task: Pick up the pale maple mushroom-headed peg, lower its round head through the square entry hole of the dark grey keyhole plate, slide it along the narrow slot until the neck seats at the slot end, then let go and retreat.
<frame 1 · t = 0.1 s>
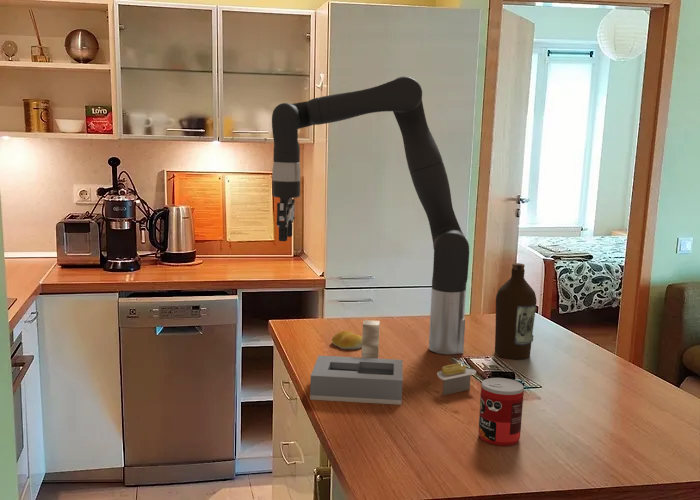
hand: (285, 238, 185), 29 cm above the table, fingers open, 8 cm apart
canned food: (498, 439, 132), on the table
maple peg: (369, 369, 169), on the table
keyhole plate: (357, 390, 155), on the table
bread roll: (347, 346, 189), on the table
olive oil: (512, 355, 184), on the table
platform: (453, 393, 156), on the table
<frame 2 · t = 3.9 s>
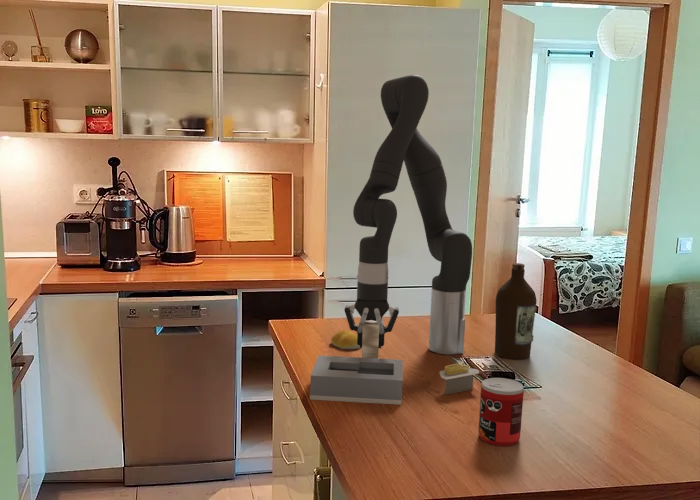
hand: (370, 346, 168), 6 cm above the table, fingers closed on maple peg, 4 cm apart
maple peg: (369, 369, 169), on the table, touching gripper
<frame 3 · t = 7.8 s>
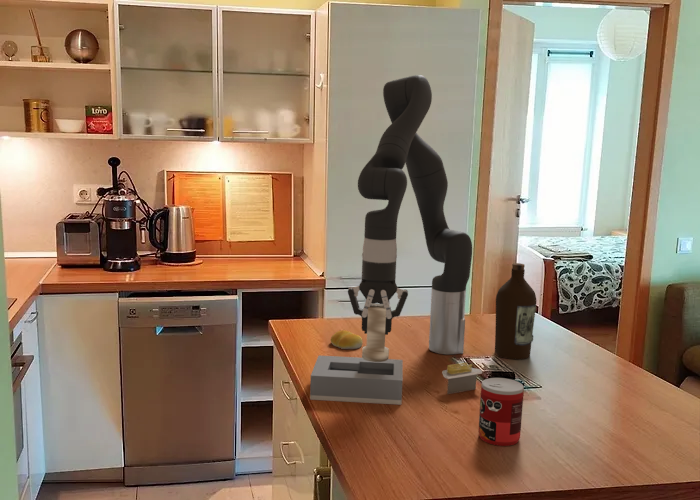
hand: (376, 332, 152), 14 cm above the table, fingers closed on maple peg, 4 cm apart
maple peg: (375, 357, 153), point 8 cm above the table, touching gripper
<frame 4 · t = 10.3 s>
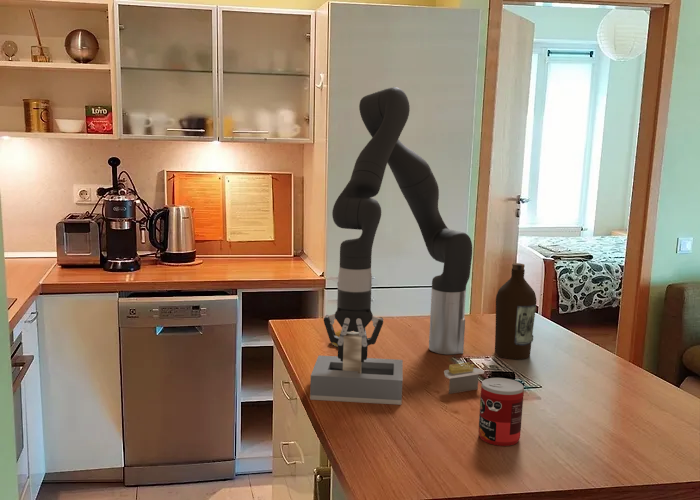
hand: (352, 360, 154), 7 cm above the table, fingers closed on maple peg, 4 cm apart
maple peg: (351, 384, 154), point 1 cm above the table, touching gripper
when the fingers open (7 cm above the table, at t = 12.0 s): maple peg stays where it is, resting on keyhole plate.
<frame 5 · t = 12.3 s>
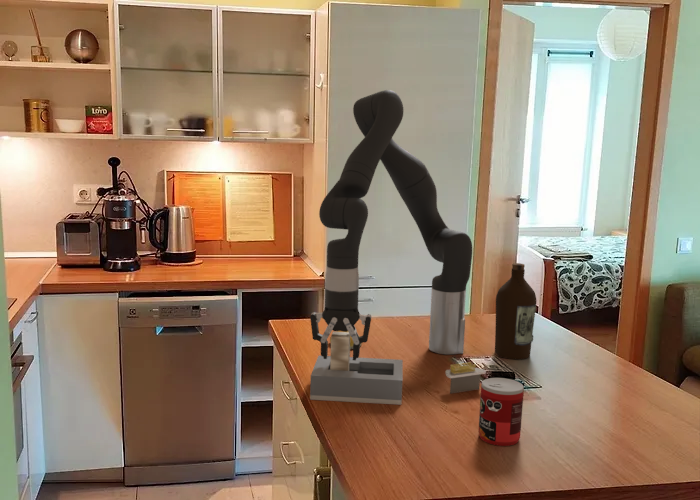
hand: (339, 358, 154), 7 cm above the table, fingers open, 6 cm apart
maple peg: (339, 385, 155), point 1 cm above the table, touching keyhole plate
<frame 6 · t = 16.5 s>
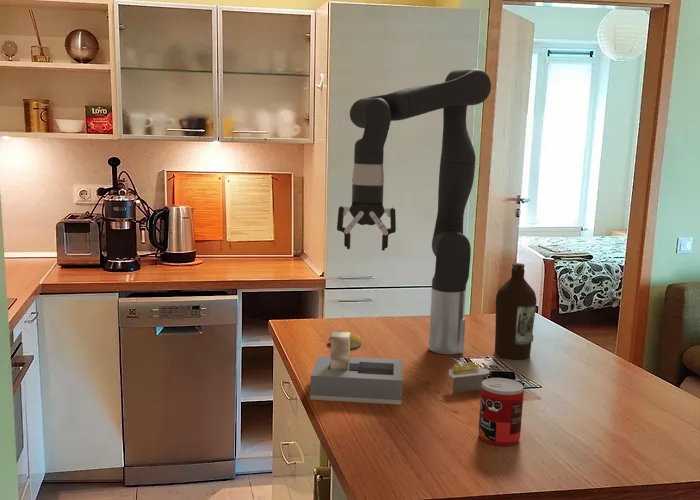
hand: (365, 249, 166), 30 cm above the table, fingers open, 8 cm apart
at the end: maple peg 0.2 cm from the target spot on the keyhole plate, point 1.0 cm above the keyhole plate's base; the gripper is holding nothing; maple peg tilted 0° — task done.
